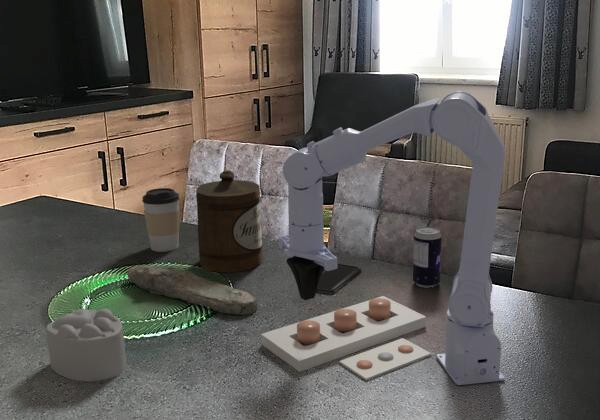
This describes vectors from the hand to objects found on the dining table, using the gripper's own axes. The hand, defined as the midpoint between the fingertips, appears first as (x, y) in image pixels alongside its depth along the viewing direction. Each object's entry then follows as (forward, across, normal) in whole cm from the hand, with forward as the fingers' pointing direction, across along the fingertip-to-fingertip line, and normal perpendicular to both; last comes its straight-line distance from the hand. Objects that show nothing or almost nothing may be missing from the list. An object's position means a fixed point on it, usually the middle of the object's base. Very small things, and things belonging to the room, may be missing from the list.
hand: (307, 297), depth 116 cm
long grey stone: (+10, -35, -7) cm, 37 cm away
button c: (+8, 0, 0) cm, 8 cm away
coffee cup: (+10, -66, +1) cm, 67 cm away
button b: (+8, 0, +8) cm, 11 cm away
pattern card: (+9, +11, +8) cm, 17 cm away
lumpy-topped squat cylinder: (+10, -17, -33) cm, 38 cm away
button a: (+8, 0, +16) cm, 18 cm away
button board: (+9, 0, +8) cm, 12 cm away
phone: (+10, -23, +22) cm, 34 cm away
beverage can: (+10, -9, +36) cm, 39 cm away
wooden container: (+10, -47, +10) cm, 49 cm away
